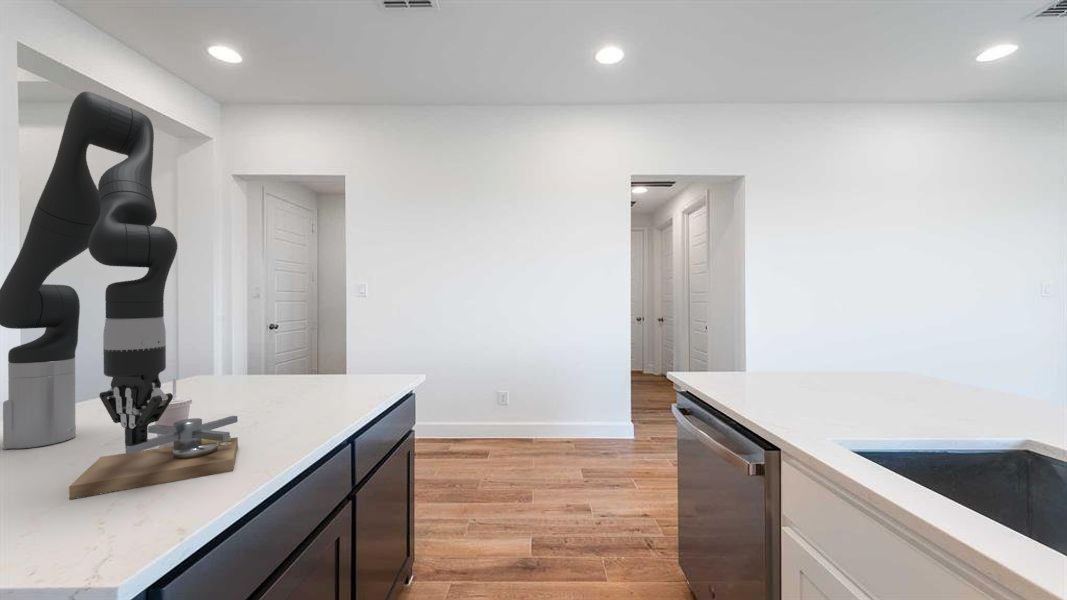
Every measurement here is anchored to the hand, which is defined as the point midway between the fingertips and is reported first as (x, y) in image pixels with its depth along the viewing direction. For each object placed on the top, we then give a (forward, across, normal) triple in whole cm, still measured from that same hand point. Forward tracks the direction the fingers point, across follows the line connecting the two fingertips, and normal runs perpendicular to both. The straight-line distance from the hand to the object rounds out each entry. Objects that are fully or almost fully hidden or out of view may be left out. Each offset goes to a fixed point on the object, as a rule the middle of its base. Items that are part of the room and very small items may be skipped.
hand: (136, 448), depth 70 cm
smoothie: (+6, +10, -13) cm, 17 cm away
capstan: (+3, -3, -6) cm, 8 cm away
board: (+5, 0, -4) cm, 7 cm away
